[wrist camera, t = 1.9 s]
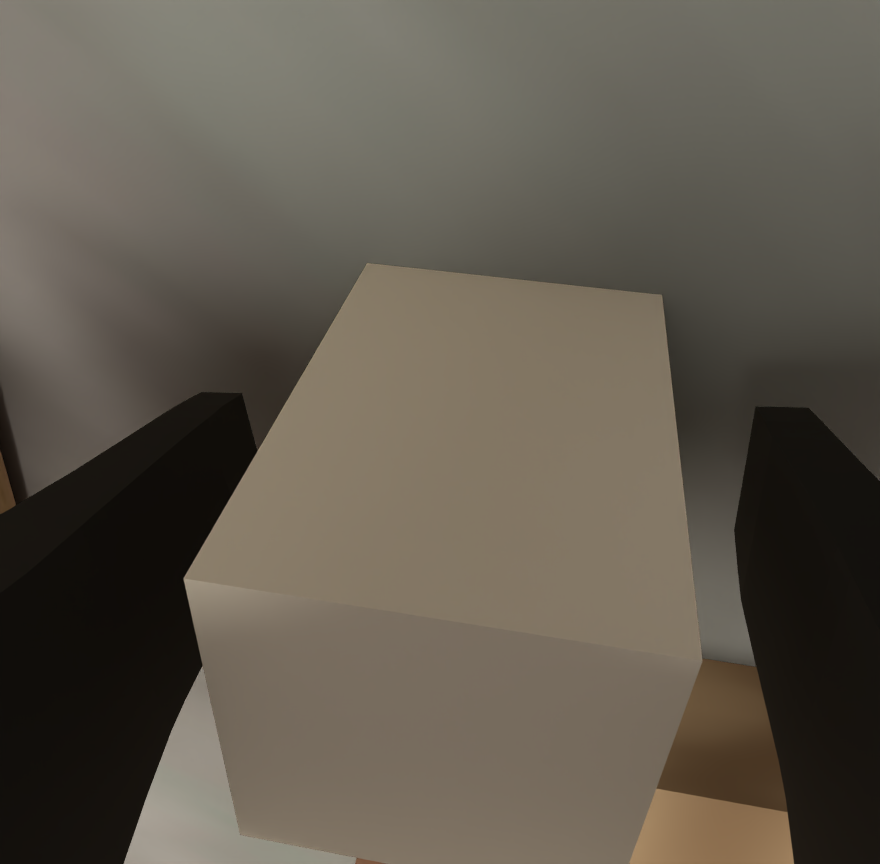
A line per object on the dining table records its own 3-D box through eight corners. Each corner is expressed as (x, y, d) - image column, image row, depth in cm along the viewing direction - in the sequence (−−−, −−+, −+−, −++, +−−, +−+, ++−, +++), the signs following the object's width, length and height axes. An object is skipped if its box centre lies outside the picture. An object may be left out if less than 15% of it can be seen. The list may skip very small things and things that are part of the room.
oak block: (924, 681, 14) (986, 848, 12) (818, 848, 18) (850, 1003, 16) (585, 626, 15) (579, 774, 13) (549, 798, 19) (539, 938, 16)
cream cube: (662, 294, 11) (702, 660, 6) (612, 517, 13) (613, 907, 8) (367, 263, 11) (183, 579, 6) (371, 484, 14) (239, 835, 9)
